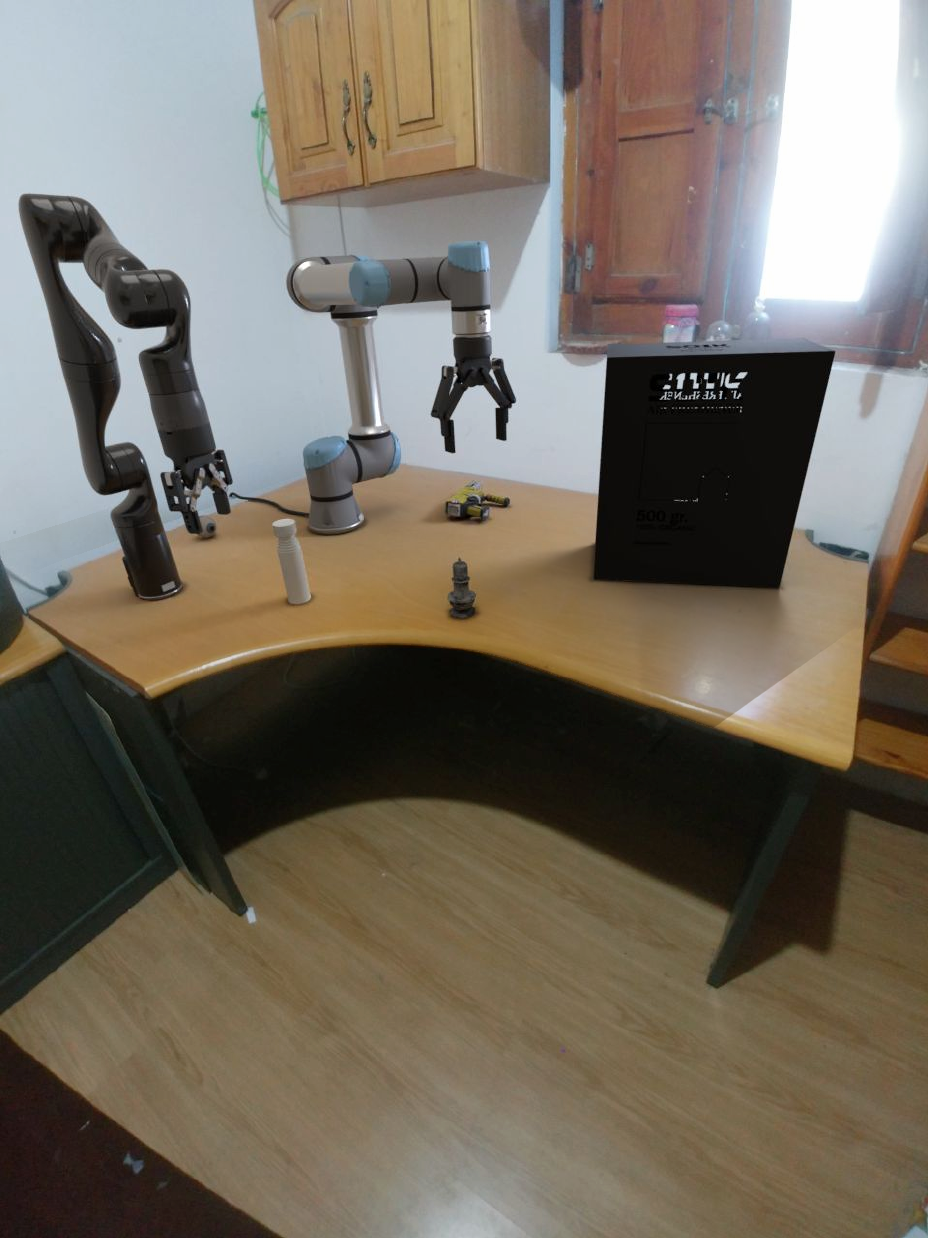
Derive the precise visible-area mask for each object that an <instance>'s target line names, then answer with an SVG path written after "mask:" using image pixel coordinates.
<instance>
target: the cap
mask: <svg viewBox="0 0 928 1238" xmlns="http://www.w3.org/2000/svg"><path fill="white" fill-rule="evenodd" d="M271 526H272V530H273V535H274V536H275V537H276V538H279V537H289V536H292V535H294V536H295V535H296V534H297V532H298V530H297V529H298V528H297V524H296V521H295V519H293V518H282V519H278V520H275V521H273V523H272V525H271Z"/></svg>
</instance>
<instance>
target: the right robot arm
mask: <svg viewBox="0 0 928 1238" xmlns="http://www.w3.org/2000/svg"><path fill="white" fill-rule="evenodd" d="M490 263H491V262H490V252H489V245H488V244H487V242H485V241H484V240H466V241H455V242H451V243H450V244H449V245H448V247H447V256H431V257H430V256H427V257H413V258H411V257H410V258H391V259H390V258H386V259H374V258H370V257H369V256H367V255H358V254H349V255H328V256H326V255H325V256H310V257H305V258H302V259H300V260H298V261H296V262H295V263H293V265H291V267H290V268H289V269H288V272H287V275H286V281H285V282H286V283H285V284H286V285H285V286H286V290H287V293H288V296H289V297H290V299H291V300H292V303H294V304H295V305H296V306H298V307H299V308H300V309H302V310H304V311H306V312H310V313H318V314H319V313H320V314H321V313H330V320H331V321H332V322H333V323H334V324H335V325H336V326H337V327H338V332H339V333H338V334H339V339H340V347H341V355H342V361H343V369H344V375H345V382H346V383H345V384H346V389H347V396H348V404H349V410H350V418H351V425H350V426H349V428H348V430H347V436H348V439H345V437H343V436H341V435H332V436H324V437H321V438H318V439H315V440H312V441H311V442H309V443H308V444H306V445H305V446H304V448H303V450H302V457H303V459H302V460H303V467H304V471H305V476H306V481H307V486H308V492H309V498H310V507H309V512H303V511H296V510H291V509H287V508H285V507H283V506H281V505H280V504H279V503H277V502H275V501H272V500H270V499H265V498H261V497H250V496H243V495H242V496H241V495H239V494H237V492H234V491H233V492H230V493H229V495H228V498H229V497H230V498H231V497H235V498H237V499H238V500H244V501H255V502H263V503H266V504H270V505H272V506H274V507H277V508H278V509H279V510H280V511H282V512H284V513H288V514H291V515H297V516H304V517H308V521H307V522H308V523H307V524H308V528H309V529H308V530H310V531H311V532H312V533H314V534H317V535H323V536H324V535H325V536H327V535H329V536H331V535H339V534H340V535H341V534H345V533H350V532H353V531H355V530H357V529H359V528H361V527H362V526H363V525H364V523H365V516H364V514H363V512H362V510H361V508H360V505H359V504H358V501H357V500H356V498H355V495H354V489H353V485H354V484H355V485H356V484H359V483H363V482H368V481H371V480H375V479H381V478H385V477H387V476H390V475H392V474H394V473H396V472H397V470H398V469H399V467H400V465H401V462H402V446H401V443H400V441H399V437H398V436H397V435H396V434H395V432H394V431H391V426H390V425H388V423H386V422H385V420H384V419H385V418H384V410H383V402H382V393H381V385H380V377H379V368H378V367H379V366H378V358H377V349H376V341H375V331H374V324H375V322H376V320H377V319H378V317H379V314H378V309H379V308H381V307H385V306H394V305H403V304H405V305H406V304H417V303H419V304H420V303H427V302H428V303H429V302H444V301H448V302H449V301H450V311H451V313H450V314H451V315H450V316H451V334H453V335H454V337H453V339H452V350H453V358H454V359H455V363H454V366H452V365H442V366H441V373H440V374H441V375H440V376H441V377H440V381H439V384H438V388H437V390H436V395H435V398H434V401H433V404H432V407H431V411H430V416H431V418H435V419H438V421H439V426H440V435H441V437H443V441H444V442H443V443H444V452H446V453H450V454H456V433H455V420H454V419H451V418H452V416H453V414H454V413H455V410H456V409H457V406H458V404H459V402H460V401H461V399H462V397H463V396H464V393H465V392H466V391H468V389H469V388H474V387H477V386H478V387H482V386H483V387H484V389H485V390H486V391H487V392H488V394H489V396H491V398H492V399H493V401H494V402H495V403H496V405H497V406H498V407H495V408H494V410H495V411H494V413H495V414H494V415H495V439H496V440H499V441H502V442H507V441H508V438H507V435H508V433H507V424H509V410H510V409H512V407H513V404H516V403H517V398H516V394H515V393H514V390H513V388H512V385H511V383H510V380H509V378H508V375H507V373H506V370H505V363H504V362H505V361H504V359H503V358H499V357H493V358H491V356H492V354H493V346H492V344H493V343H492V340H493V339H492V336H491V335H489V333H491V332H492V315H491V314H492V312H491V311H492V309H491V264H490ZM491 370H492V374H493V376H494V378H493V376H492V375H491ZM455 377H456V378H455ZM454 378H455V380H454ZM495 381H496V383H497V384H496V383H495Z"/></svg>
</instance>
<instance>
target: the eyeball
mask: <svg viewBox="0 0 928 1238" xmlns="http://www.w3.org/2000/svg"><path fill="white" fill-rule="evenodd" d="M199 518H200V522H201V525H202V529H203V532H201V533H200V534H196V535H197V536H198V537H201V538H210V537H212V536H214V535H215V533H216V531H217V523H216V521H215V520H214V519H213V518H212V517H211V516H208V515H204V514H203V515H199Z"/></svg>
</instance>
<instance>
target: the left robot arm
mask: <svg viewBox="0 0 928 1238" xmlns="http://www.w3.org/2000/svg"><path fill="white" fill-rule="evenodd" d="M18 198H19V199H18V203H17V204H18V214H19V221H20V224H21V228H22V231H23V235H24V239H25V241H26V244H27V248H28V251H29V255H30V257H31V260H32V263H33V266H34V269H35V273H36V276H37V279H38V282H39V285H40V288H41V291H42V294H43V295H42V296H43V298H44V302H45V306H46V309H47V312H48V317H49V321H50V327H51V330H52V335H53V340H54V344H55V348H56V353H57V358H58V361H59V365H60V370H61V373H62V377H63V380H64V383H65V386H66V390H67V394H68V397H69V401H70V404H71V405H70V406H71V408H72V412H73V417H74V422H75V427H76V432H77V440H78V445H79V452H80V457H81V463H82V467H83V472H84V474H85V477H86V480H87V482H88V484H89V486H90V487H91V488H92V490H93V491H94V492H95V493H97V494H98V495H99V496H111V495H116V494H118V493H119V494H120V493H123V492H127V491H128V493H127V494H126V496H125V498H124V499H123V500H122V501H121V502H120V503H118V504H117V505H116V506H114V508H112V509H111V511H110V514H109V515H110V520H111V522H112V525H113V527H114V531H115V533H116V536H117V539H118V541H119V544H120V547H121V549H122V553H123V556H122V557H121V561H122V564H123V566H124V569H125V571H126V574H127V580H128V583H129V585H130V588H132V591H133V594H134V596H135V597H139V599H140V600H144V601H157V600H162V599H163V600H164V599H166V598H169V597H172V596H174V595H176V594H178V593H180V591H182V589H183V587H184V585H183V582H182V580H181V577H180V574H179V570H178V567H177V564H176V561H175V558H174V555H173V551H172V548H171V546H170V545H171V544H170V543H169V539H168V536H167V533H166V530H165V527H164V524H163V521H162V517H161V515H160V512H159V506H158V505H159V504H158V500H157V497H156V492H155V489H154V485H153V481H152V477H151V473H150V469H149V466H148V463H147V460H146V458H145V456H144V454H143V452H142V451H141V449H140V448H139V446H137V445H136V444H135V443H133V442H132V441H131V442H130V441H124V442H119V443H115V444H114V443H113V444H109V445H106V429H107V423H108V421H109V419H110V416H111V413H112V412H113V410H114V407H115V405H116V402H117V400H118V397H119V394H120V391H121V387H122V376H121V371H120V367H119V361H118V356H117V351H116V348H115V345H114V343H113V341H112V340H111V338H110V337H109V335H108V334H107V332H105V331H104V329H103V328H102V327H101V326H100V325H99V324H98V322H97V321H95V319H94V318H93V316H91V315H90V314H89V312H88V311H86V310H85V308H84V307H83V306H82V305H81V303H80V302H79V301H78V299H77V298H76V297H75V296H74V294H73V293H72V291H71V290H70V288H69V286H68V284H67V283H66V281H65V279H64V277H63V274H62V272H61V268H60V267H61V266H60V264H83V268H84V270H85V272H86V274H87V276H88V277H89V279H90V280H91V282H92V283H93V284H94V285H95V286H96V287H97V288H98V289H99V290H100V291H101V292H102V293H103V294H104V296H105V301H106V305H107V307H108V310H109V313H110V314H111V317H112V318H113V319H114V320H115V322H116V323H117V324H119V325H120V326H122V327H124V328H127V329H130V330H144V329H145V330H146V329H154V328H155V329H156V328H165V334H164V338H163V340H162V341H161V342H160V343H157V344H156V345H155V344H154V345H153V346H149V347H147V348H144V349H142V350H140V352H139V353H138V362H139V363H138V364H139V367H140V371H141V374H142V377H143V381H144V383H145V387H146V390H147V393H148V397H149V403H150V410H151V413H152V417H153V420H154V423H155V427H156V430H157V433H158V437H159V440H160V443H161V447H162V449H163V454H164V456H165V457H166V458H168V459H169V460H171V461H172V464H173V470H171V471H161V472H160V474H159V476H160V480H161V481H160V482H161V484H162V488H163V491H164V495H165V500H166V503H167V507H168V511H170V512H174V513H175V512H178V513H181V517H182V519H183V522H184V525H185V529H186V531H187V532H188V534H190V535H197V534H200V533H201V532H203V529H202V525H201V522H200V518H199V516H200V514H199V512H198V510H197V502H198V499H199V498H200V497H201V494H202V490H204V489H205V488H206V487H207V488H209V489H210V490H211V494H212V498H213V502H214V505H215V509H216V512H217V514H218V515H220V516H221V515H223V516H228V515H229V514H231V513H232V509H231V505H230V500H229V495H228V493H227V492H228V491H229V486H231V485H233V483H234V481H233V477H232V473H231V470H230V467H229V463H228V459H227V456H226V453H225V450H224V449H217V445H216V442H215V438H214V434H213V430H212V425H211V422H210V418H209V414H208V410H207V407H206V406H207V405H206V403H205V399H204V397H203V395H202V392H201V390H200V389H201V388H200V387H199V382H198V378H197V375H196V371H195V366H194V362H193V357H192V341H191V340H192V338H191V328H192V327H191V326H192V325H191V324H192V323H191V322H192V302H191V301H192V300H191V296H190V293H189V290H188V287H187V285H186V283H185V282H184V280H183V279H182V278H181V277H180V275H178V274H177V273H176V272H175V271H173V270H171V269H167V268H166V269H165V268H155V269H149V268H148V267H147V266H146V264H145V263H144V262H143V261H142V260H141V259H139V257H138V256H136V255H135V254H134V253H132V252H131V251H130V250H129V249H128V248H126V247H125V246H123V245H122V243H121V241H120V240H119V239H118V238H117V236H116V235H115V233H114V231H113V230H112V228H111V227H110V225H109V224H108V223H107V222H106V220H105V218H104V217H103V216H102V214H101V213H100V211H98V209H97V208H96V207H95V206H94V205H93V204H92V203H91V202H89V201H88V200H86V199H84V198H82V197H79V196H73V195H60V194H59V195H58V194H44V193H31V192H29V193H23V194H21V195H20V196H19V197H18ZM221 473H223V475H222V474H221ZM223 476H224V477H223ZM185 489H186V490H185ZM175 497H176V498H177V502H176V499H175ZM187 498H188V501H187Z"/></svg>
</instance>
